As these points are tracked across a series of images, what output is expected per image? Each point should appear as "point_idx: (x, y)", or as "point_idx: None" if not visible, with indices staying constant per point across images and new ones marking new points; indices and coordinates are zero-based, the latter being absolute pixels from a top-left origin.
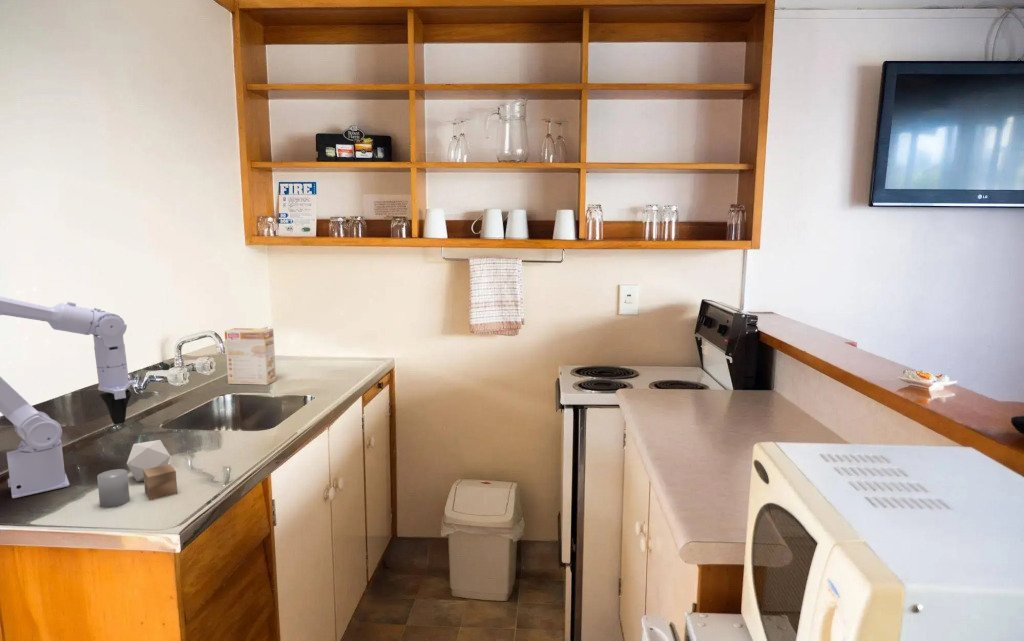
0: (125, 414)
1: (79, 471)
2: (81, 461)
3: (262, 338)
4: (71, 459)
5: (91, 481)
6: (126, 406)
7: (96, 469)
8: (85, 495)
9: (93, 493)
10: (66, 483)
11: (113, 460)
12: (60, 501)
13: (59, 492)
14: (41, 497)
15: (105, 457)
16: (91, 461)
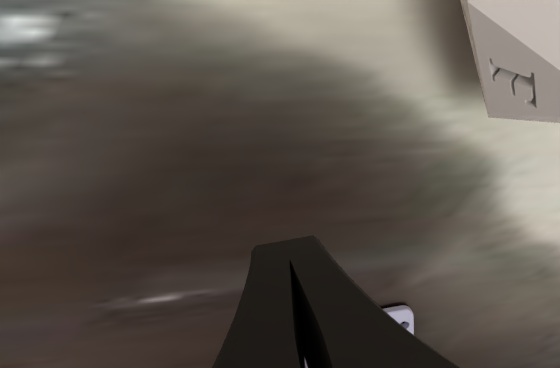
0: (349, 277)
1: (220, 291)
2: (61, 300)
3: None
4: (5, 339)
5: (396, 237)
6: (421, 343)
7: (232, 232)
8: (552, 242)
9: (553, 218)
10: (395, 318)
11: (117, 169)
12: (545, 307)
13: (445, 322)
14: (454, 362)
15: (39, 208)
16: (83, 262)
